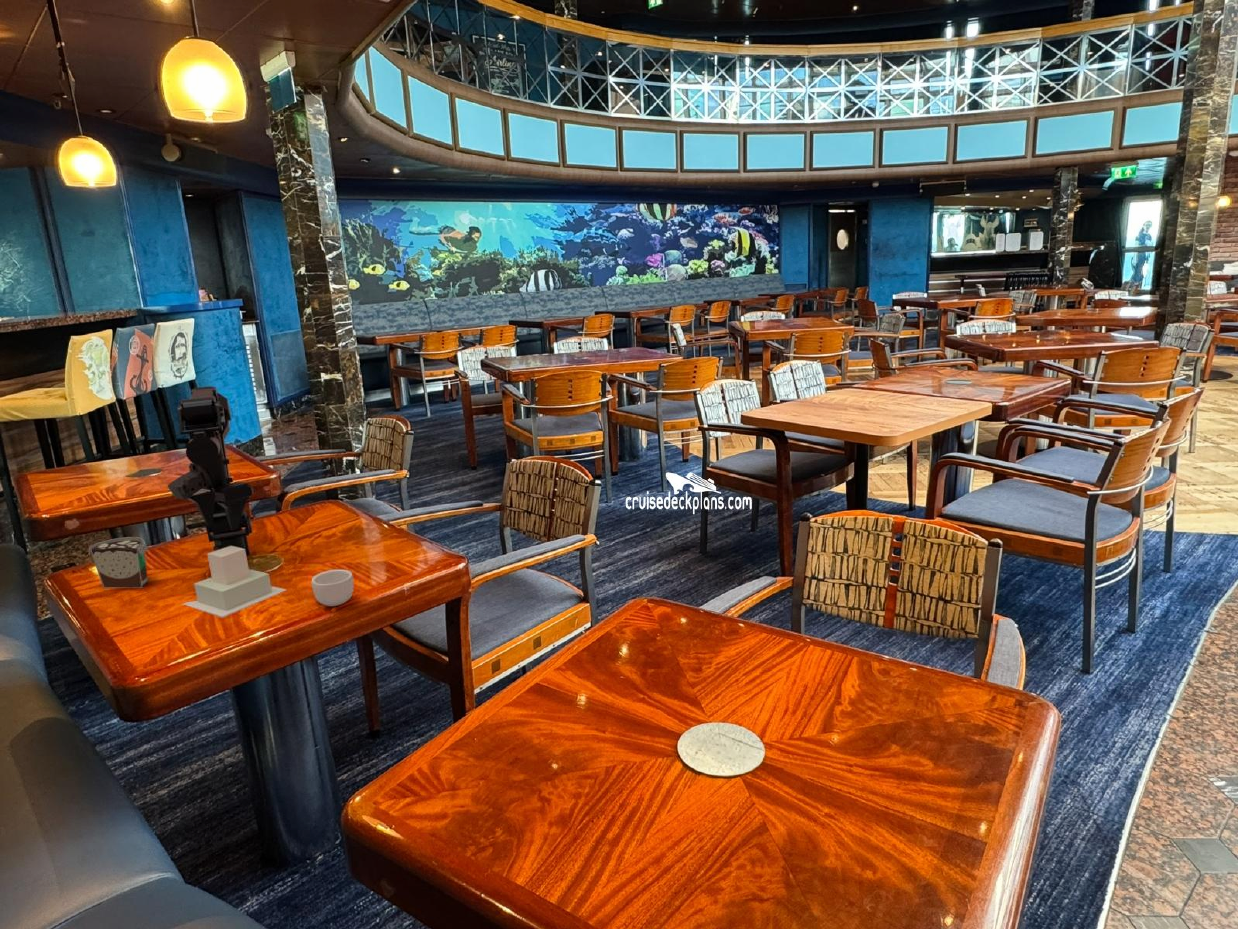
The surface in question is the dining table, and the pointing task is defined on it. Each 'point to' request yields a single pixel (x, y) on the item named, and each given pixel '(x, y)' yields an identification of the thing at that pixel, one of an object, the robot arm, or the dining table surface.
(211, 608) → the base plate
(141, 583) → the food container
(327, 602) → the teacup
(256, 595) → the base brick
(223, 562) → the pink brick
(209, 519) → the robot arm
